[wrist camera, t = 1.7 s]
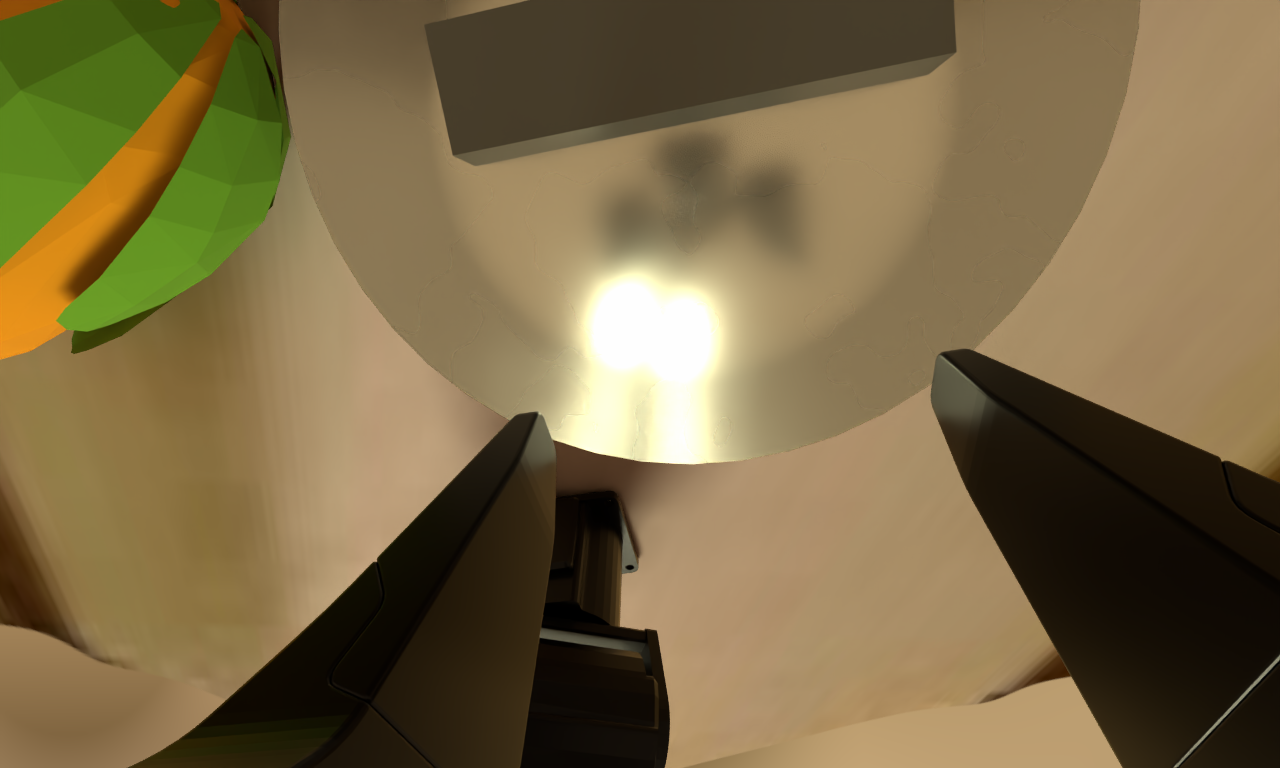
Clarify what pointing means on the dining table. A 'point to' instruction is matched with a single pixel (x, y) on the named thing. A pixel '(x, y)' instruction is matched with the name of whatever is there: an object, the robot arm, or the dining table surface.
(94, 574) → the dining table surface
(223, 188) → the corn
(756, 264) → the lid
